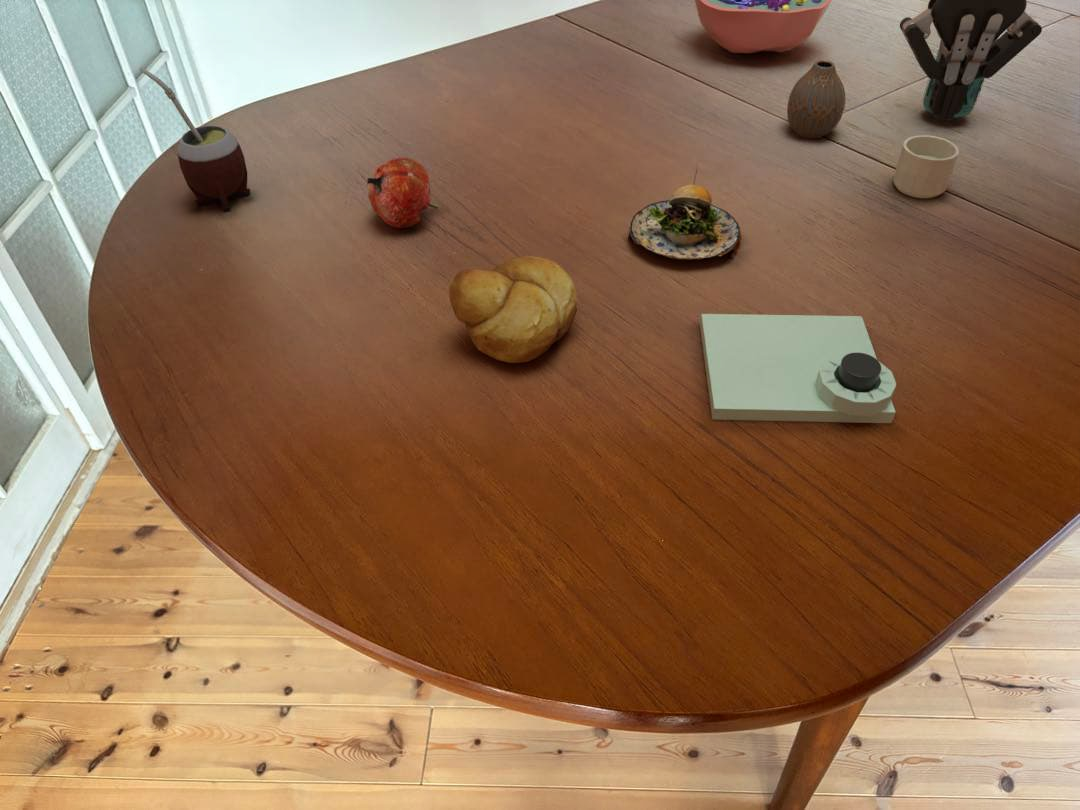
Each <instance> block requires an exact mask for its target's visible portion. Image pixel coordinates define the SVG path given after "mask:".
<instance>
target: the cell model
mask: <svg viewBox="0 0 1080 810" xmlns="http://www.w3.org/2000/svg"><path fill="white" fill-rule="evenodd" d="M832 1H833V0H694V3H695V8H696V12H697V16H698V19H699V23H700V24H701V26H702V28H703V29H704V31H705V32H706V33H707V35H708V37H709V38H710V39H711V40H712V41H714V42H715V43H717V44H718V46H720V47H721V48H723V49H724V50H726V51H728V52H729V53H733V54H756V53H763V52H772V53H785V52H788V51H790V50H792V49H795V48H796V47H798V46H800V45H802V44H803V43H805V41H807V40H808V39H809V38H810V36H811V35H812V34H813V33H814V31H815V29H816V27H817V26H818V25H819V24H820V22H821V20H822V19H823V17H824V15H825V14H826V12H827V10H828V8H829V7H830V4H831V3H832Z"/></svg>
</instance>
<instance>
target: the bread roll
mask: <svg viewBox="0 0 1080 810" xmlns="http://www.w3.org/2000/svg"><path fill="white" fill-rule="evenodd" d="M448 297H449V298H448V299H449V303H450V306H451V308H452V310H453V313H454V316H455V317H456V319H457V320H458V321H459V322H461V323H463V324H465V329H466V330H467V332H468V333H469V338H470V339H471V341H472V343H473V345H474V346H475V347H476V349H477V350H478V351H480V352H481V353H482V354H485V355H487V357H490V358H492V359H495V360H497V361H499V362H505V363H508V364H520V363H527V362H529V361H531V360H534V359H536V358H538V357H539V356H541V355H543V354H545V352H546V351H547V350H549V348H550V347H551V346H552V345H553V344H554V343H555V342H557V341H558V340H560V339H561V338H562V337H563V336H564V335H565V334H566V333H567V332H568V331H569V330H570V329H571V327H572V324H573V322H574V320H575V317H576V315H577V313H578V305H577V304H578V302H579V300H578V293H577V289H576V287H575V284H574V282H573V280H572V278H571V277H570V275H569V274H568V273H567V272H566V271H565V270H564V269H563V268H562V266H560V265H559V264H557V263H556V262H555V261H552V260H550V259H548V258H545V257H538V256H535V255H524V256H519V257H514V258H511V259H507V260H506V261H504V262H503V263H501V264H499V265H497V266H496V267H494V268H492V270H485V269H475V268H468V269H465V270H462V271H459V272H458V273H456V274H455V275H454V276H453V277H452V279H451V281H450V283H449V286H448Z"/></svg>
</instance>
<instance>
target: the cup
mask: <svg viewBox="0 0 1080 810" xmlns="http://www.w3.org/2000/svg"><path fill="white" fill-rule="evenodd" d="M959 152H960V149H959V148H958V146H957V144H955V143H954V142H952V141H951V140H949V139H946V138H944V137H940V136H935V135H928V134H927V135H925V134H923V135H922V134H920V135H919V134H918V135H914V136H909V137H908V138H906V139H904V141H903V144H902V147H901V150H900V154H899V157H898V160H897V164H896V167H895V171H894V174H893V178H892V182H893V184H894V186H895V187H896V189H897V190H898V191H899V192H901V193H902V194H904V195H906V196H908V197H912V198H917V199H932V198H936V197H938V196H940V195H941V194H943V193H944V192H946V191H947V188H948V186H949V182H950V180H951V177H952V173H953V171H954V168H955V165H956V162H957V159H958V156H959V154H960V153H959Z"/></svg>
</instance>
